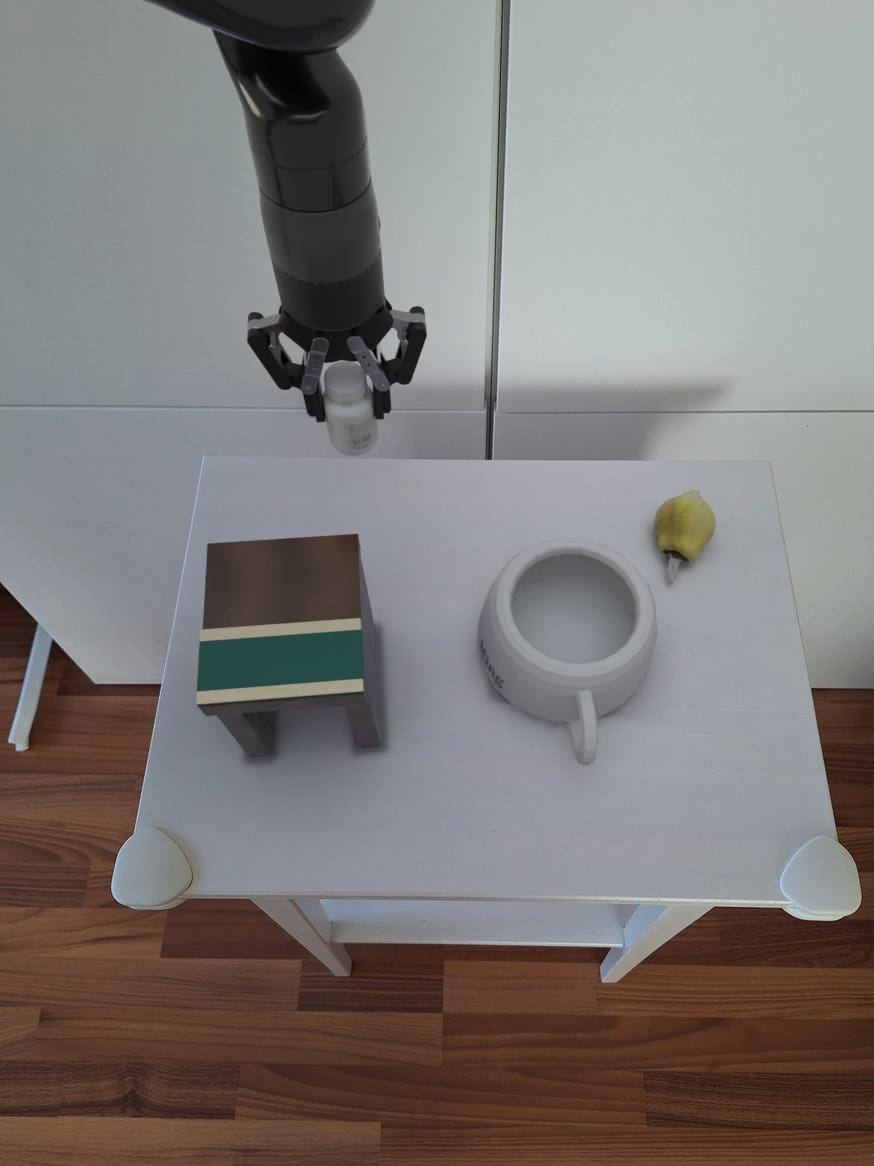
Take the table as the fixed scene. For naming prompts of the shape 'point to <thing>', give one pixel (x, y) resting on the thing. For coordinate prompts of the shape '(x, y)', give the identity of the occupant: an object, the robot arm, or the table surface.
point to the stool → (292, 619)
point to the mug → (568, 634)
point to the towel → (280, 662)
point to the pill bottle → (349, 409)
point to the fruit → (683, 528)
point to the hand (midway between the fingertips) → (350, 412)
